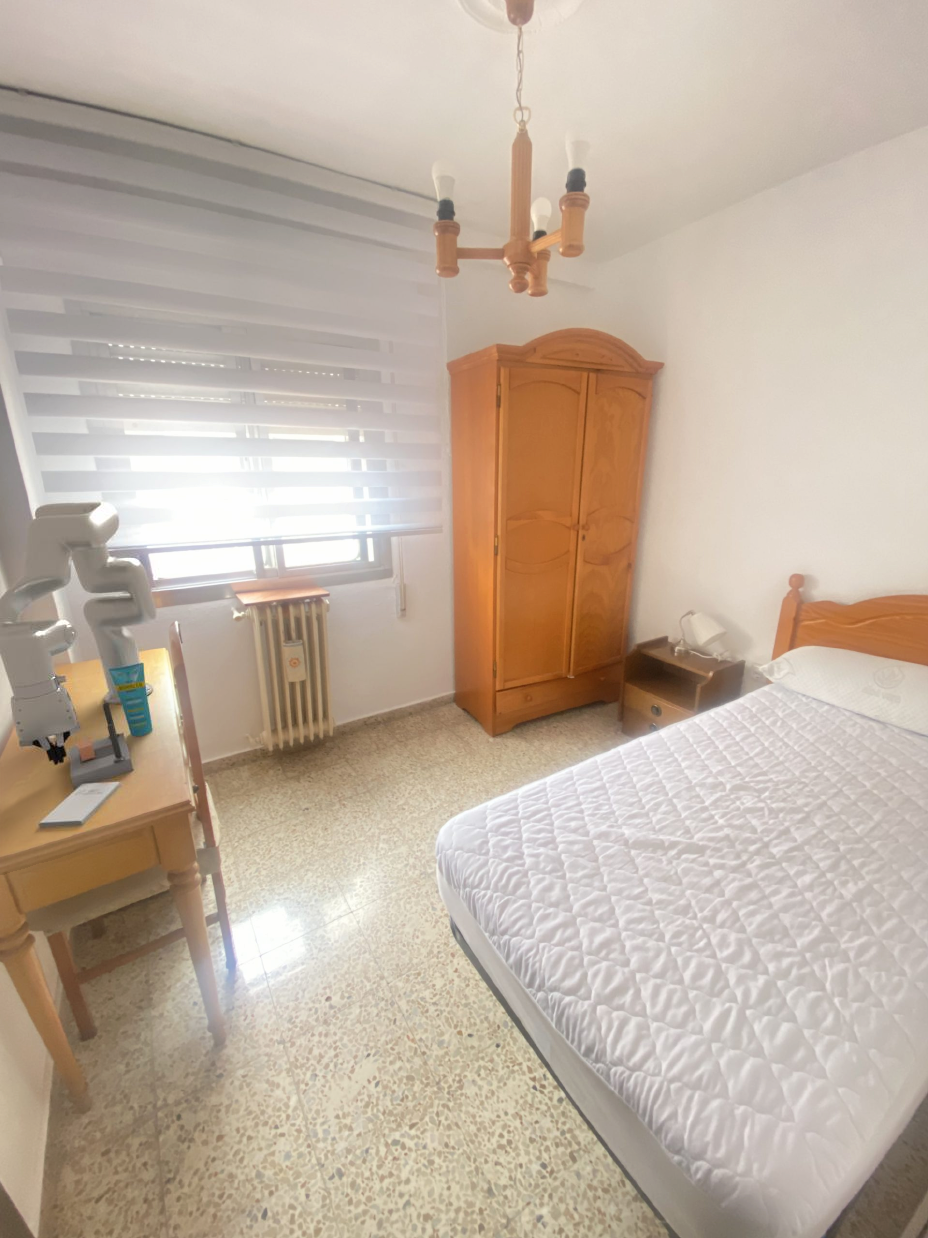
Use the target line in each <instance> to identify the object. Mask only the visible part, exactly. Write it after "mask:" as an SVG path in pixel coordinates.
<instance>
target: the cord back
mask: <svg viewBox="0 0 928 1238" xmlns="http://www.w3.org/2000/svg"><path fill="white" fill-rule="evenodd" d="M102 708H103V712H104V716H105V719H106V723H107V726H108V725H109V724H113V725H114V728H115V732H116V733H117V730H116V726H115V724H114V719H113V715H112V712H111V708H110V703H107V702H104V703H102Z"/></svg>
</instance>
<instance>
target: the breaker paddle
mask: <svg viewBox="0 0 928 1238" xmlns="http://www.w3.org/2000/svg"><path fill="white" fill-rule="evenodd" d="M92 742H93V741H92V738H91V737H90V738H86V739H83V740H79V741H77V746H78V747H79V752H80V755H81V759H82V761H84V760H88V759H91V758H94V757H95V753H94V748H93V745H92Z"/></svg>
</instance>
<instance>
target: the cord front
mask: <svg viewBox="0 0 928 1238" xmlns="http://www.w3.org/2000/svg"><path fill="white" fill-rule="evenodd" d="M114 726H115V724H114V725H113V724H109V725H108V724H107V731H108V735H109V736H110V739H111V742H112V746H113V750H114V753H115V757H116V758H121V757H122V754H121V750H120V747H119V743H118V739H117V735H116V734H117V731H116V732H115V730H116V727H115V728H114Z"/></svg>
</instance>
